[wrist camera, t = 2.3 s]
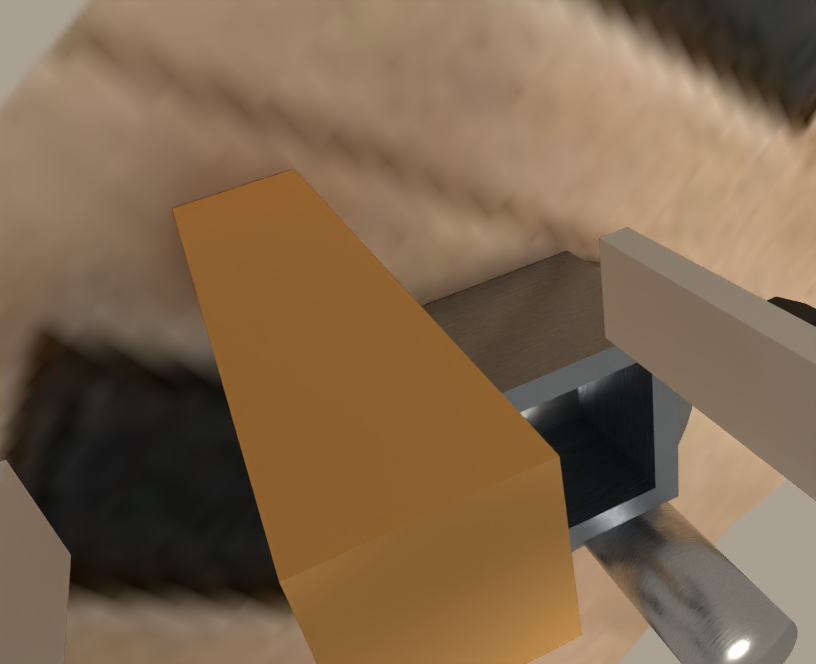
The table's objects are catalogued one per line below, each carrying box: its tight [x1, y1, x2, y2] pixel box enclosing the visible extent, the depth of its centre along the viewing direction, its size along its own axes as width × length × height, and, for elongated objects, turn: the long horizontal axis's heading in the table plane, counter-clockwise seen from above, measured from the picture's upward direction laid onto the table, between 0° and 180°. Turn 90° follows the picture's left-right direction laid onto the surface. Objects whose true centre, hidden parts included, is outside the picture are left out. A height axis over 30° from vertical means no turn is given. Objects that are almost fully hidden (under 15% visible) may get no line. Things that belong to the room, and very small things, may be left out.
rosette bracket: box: [422, 251, 797, 664], centre depth 27 cm, size 15×15×11 cm
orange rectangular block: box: [172, 169, 582, 664], centre depth 17 cm, size 4×4×16 cm
